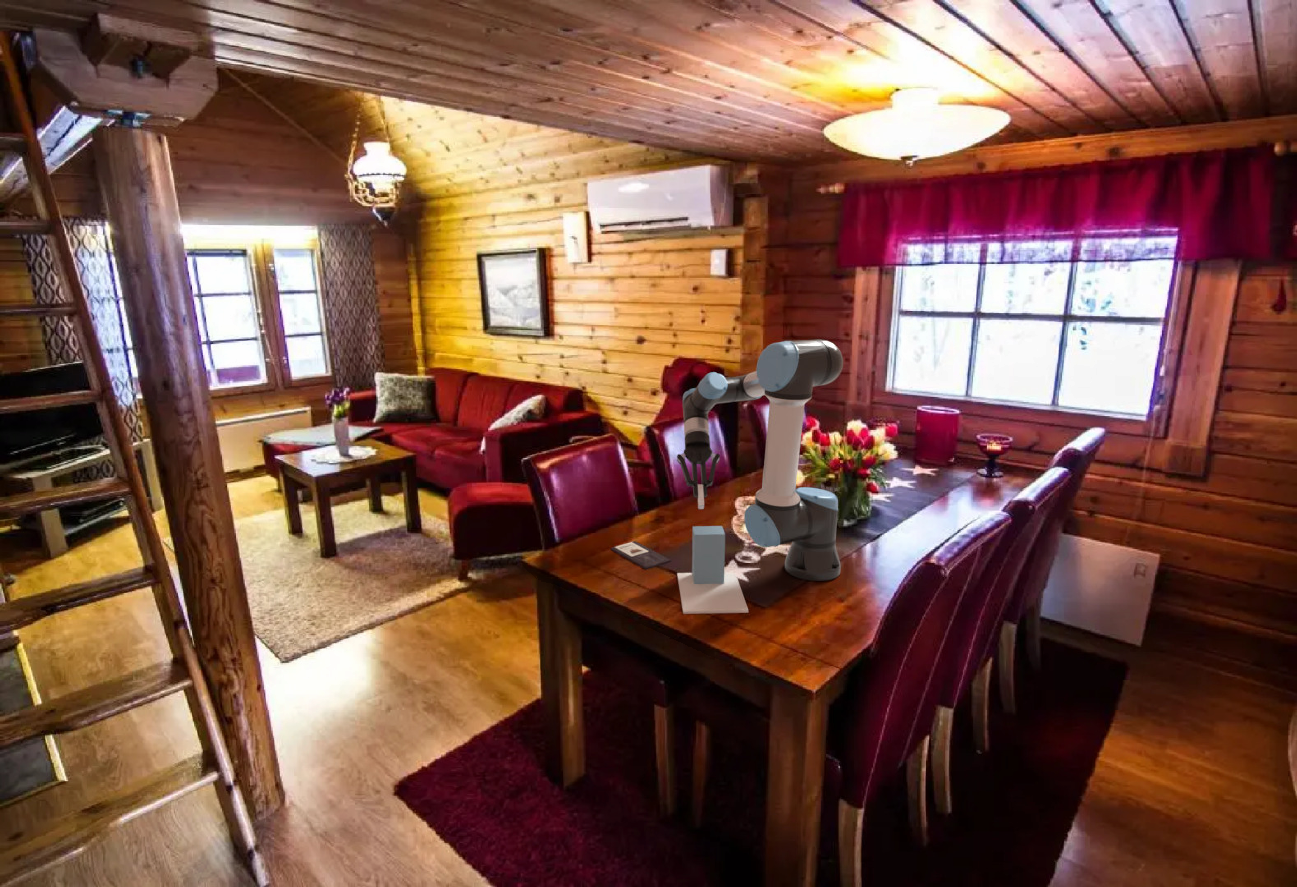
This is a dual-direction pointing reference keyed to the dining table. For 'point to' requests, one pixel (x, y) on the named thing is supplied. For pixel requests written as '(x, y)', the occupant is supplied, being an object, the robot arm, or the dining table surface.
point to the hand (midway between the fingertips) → (701, 506)
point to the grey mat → (711, 595)
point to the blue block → (708, 554)
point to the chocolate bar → (640, 555)
